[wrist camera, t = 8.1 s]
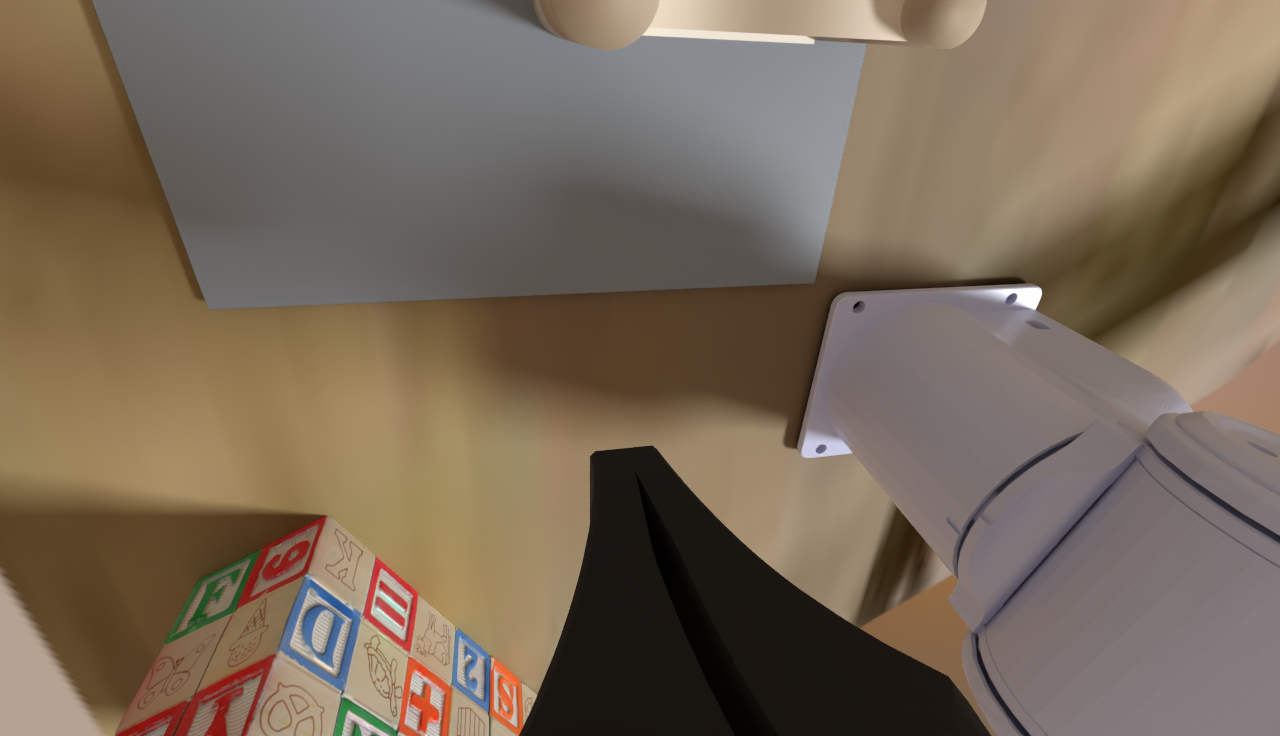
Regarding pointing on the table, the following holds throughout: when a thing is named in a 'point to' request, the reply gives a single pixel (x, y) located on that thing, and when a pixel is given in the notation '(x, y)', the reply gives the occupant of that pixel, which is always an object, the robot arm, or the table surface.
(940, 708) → the robot arm
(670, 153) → the card
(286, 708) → the stack of blocks
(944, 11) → the fence frame
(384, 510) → the table surface
